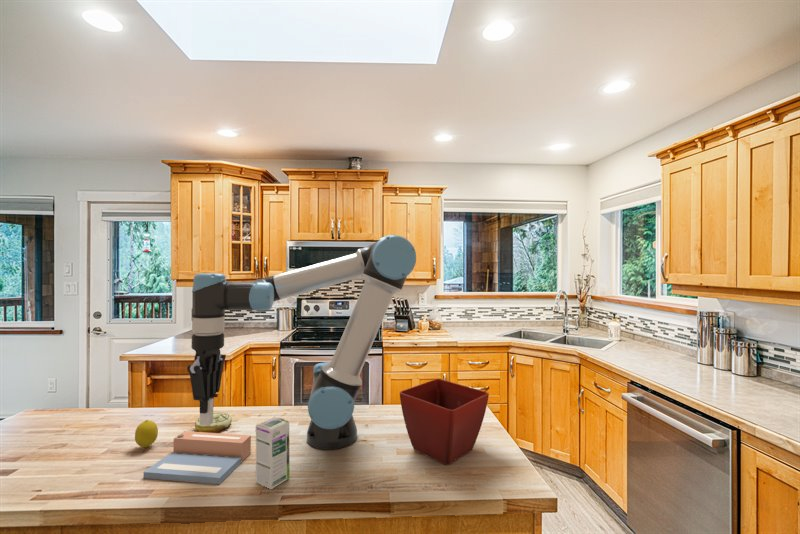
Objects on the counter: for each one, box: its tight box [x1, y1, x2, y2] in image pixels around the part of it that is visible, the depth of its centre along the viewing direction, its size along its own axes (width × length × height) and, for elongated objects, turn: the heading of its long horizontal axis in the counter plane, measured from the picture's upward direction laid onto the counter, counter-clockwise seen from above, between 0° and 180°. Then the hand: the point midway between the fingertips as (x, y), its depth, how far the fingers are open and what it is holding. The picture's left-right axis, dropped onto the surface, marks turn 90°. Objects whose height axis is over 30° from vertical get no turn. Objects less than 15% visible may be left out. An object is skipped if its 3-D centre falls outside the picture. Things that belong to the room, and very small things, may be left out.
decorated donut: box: [194, 411, 233, 433], centre depth 122 cm, size 10×11×4 cm
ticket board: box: [143, 451, 242, 485], centre depth 97 cm, size 20×10×2 cm, turn 84°
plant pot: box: [399, 378, 490, 466], centre depth 109 cm, size 19×19×17 cm
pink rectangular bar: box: [172, 430, 252, 462], centre depth 105 cm, size 20×4×5 cm, turn 84°
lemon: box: [134, 419, 159, 449], centre depth 108 cm, size 6×6×8 cm
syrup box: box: [255, 416, 290, 490], centre depth 93 cm, size 6×6×14 cm
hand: (206, 423), depth 98 cm, fingers closed
